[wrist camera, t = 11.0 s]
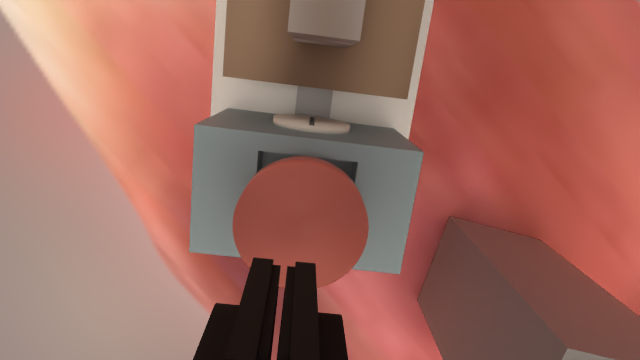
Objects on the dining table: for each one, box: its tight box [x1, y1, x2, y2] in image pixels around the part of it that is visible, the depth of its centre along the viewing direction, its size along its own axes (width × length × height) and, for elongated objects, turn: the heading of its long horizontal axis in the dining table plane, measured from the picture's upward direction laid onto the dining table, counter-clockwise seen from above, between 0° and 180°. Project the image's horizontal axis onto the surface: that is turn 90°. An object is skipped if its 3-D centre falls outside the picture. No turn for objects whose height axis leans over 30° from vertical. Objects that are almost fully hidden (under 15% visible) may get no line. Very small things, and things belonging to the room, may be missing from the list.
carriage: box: [223, 0, 425, 99], centre depth 17 cm, size 9×7×9 cm
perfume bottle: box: [417, 216, 640, 360], centre depth 20 cm, size 7×7×18 cm
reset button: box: [233, 156, 369, 288], centre depth 17 cm, size 5×5×3 cm
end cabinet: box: [189, 108, 424, 274], centre depth 22 cm, size 10×6×7 cm, turn 83°
